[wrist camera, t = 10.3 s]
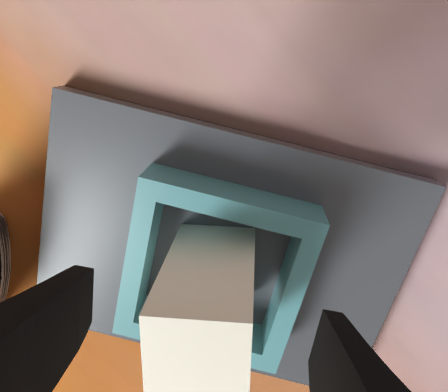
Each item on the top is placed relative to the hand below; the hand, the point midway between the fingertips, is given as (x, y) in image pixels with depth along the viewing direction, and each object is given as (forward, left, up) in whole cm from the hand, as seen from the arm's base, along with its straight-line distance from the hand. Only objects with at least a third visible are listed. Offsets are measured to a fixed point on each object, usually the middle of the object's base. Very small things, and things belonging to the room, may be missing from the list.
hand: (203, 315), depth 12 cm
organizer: (0, +3, -10) cm, 11 cm away
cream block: (0, +3, -9) cm, 10 cm away
